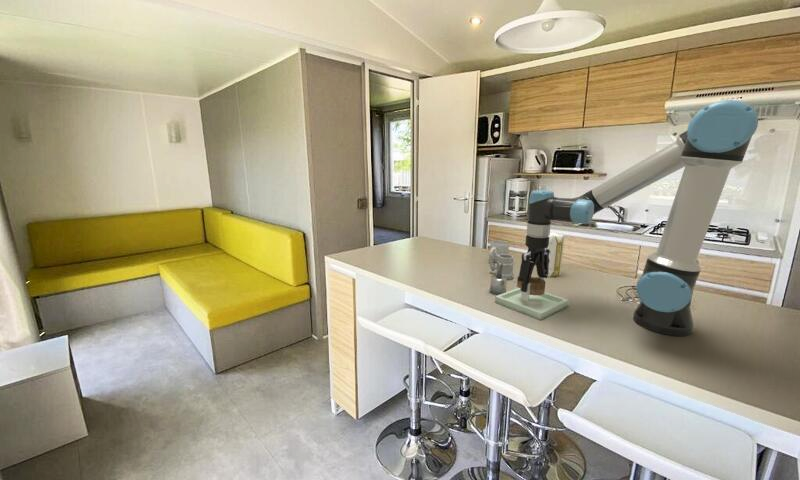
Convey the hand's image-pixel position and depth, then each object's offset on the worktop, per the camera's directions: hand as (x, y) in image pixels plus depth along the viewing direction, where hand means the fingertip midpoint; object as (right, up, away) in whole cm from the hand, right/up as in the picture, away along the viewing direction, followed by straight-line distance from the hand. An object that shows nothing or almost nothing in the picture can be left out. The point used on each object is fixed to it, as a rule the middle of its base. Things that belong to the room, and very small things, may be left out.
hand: (531, 296), depth 123 cm
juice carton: (+21, +5, +33) cm, 40 cm away
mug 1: (+2, +9, +53) cm, 53 cm away
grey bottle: (-9, 0, +12) cm, 15 cm away
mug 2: (-2, +4, +31) cm, 31 cm away
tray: (0, -3, +1) cm, 3 cm away
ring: (0, +2, 0) cm, 2 cm away
